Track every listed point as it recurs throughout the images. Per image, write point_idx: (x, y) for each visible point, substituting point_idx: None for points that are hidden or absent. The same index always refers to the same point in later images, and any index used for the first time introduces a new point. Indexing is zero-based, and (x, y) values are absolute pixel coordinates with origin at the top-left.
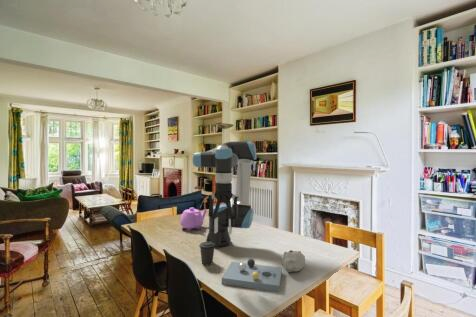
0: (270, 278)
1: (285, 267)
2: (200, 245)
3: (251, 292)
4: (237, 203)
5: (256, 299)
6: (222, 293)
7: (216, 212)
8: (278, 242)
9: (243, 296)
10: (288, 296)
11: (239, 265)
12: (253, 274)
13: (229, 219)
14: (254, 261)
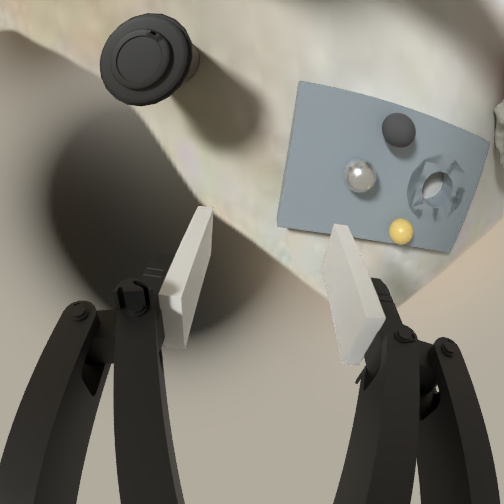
0: (441, 216)
1: (499, 150)
2: (108, 87)
3: (372, 252)
4: (494, 496)
5: (379, 278)
6: (287, 264)
7: (167, 411)
8: None
9: None
10: (454, 258)
11: (350, 185)
12: (395, 242)
13: (349, 352)
14: (415, 135)
